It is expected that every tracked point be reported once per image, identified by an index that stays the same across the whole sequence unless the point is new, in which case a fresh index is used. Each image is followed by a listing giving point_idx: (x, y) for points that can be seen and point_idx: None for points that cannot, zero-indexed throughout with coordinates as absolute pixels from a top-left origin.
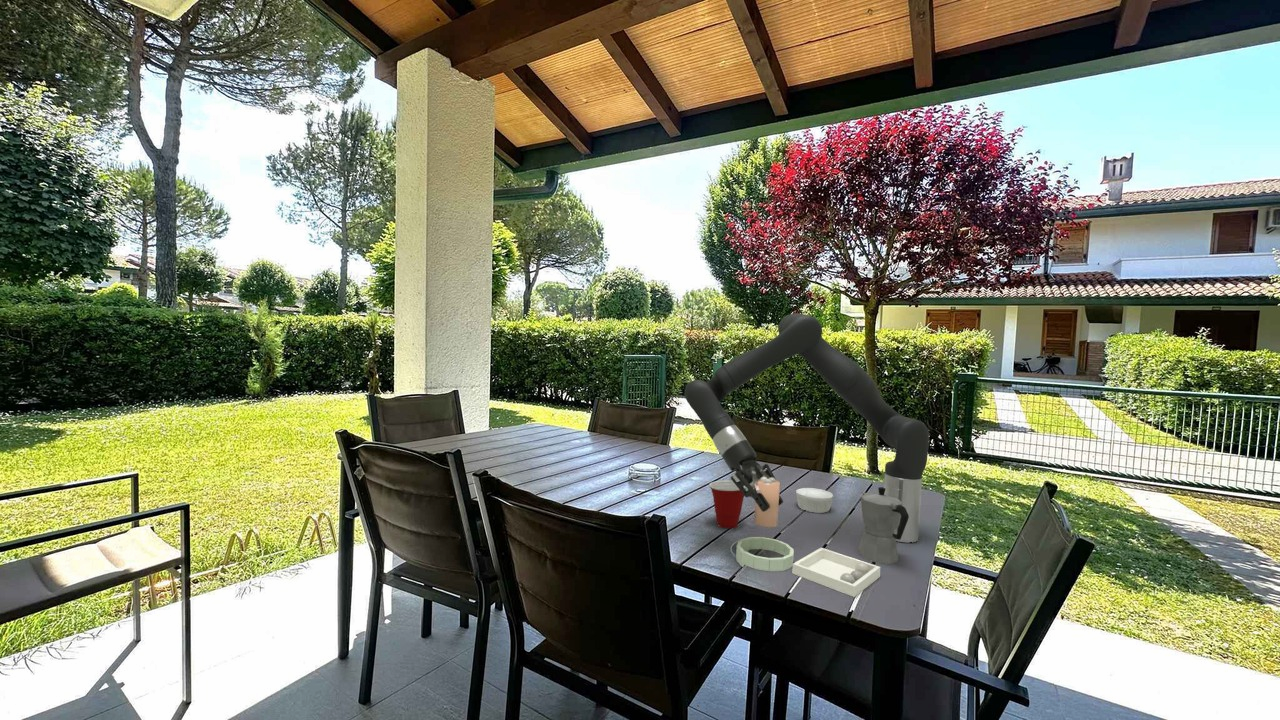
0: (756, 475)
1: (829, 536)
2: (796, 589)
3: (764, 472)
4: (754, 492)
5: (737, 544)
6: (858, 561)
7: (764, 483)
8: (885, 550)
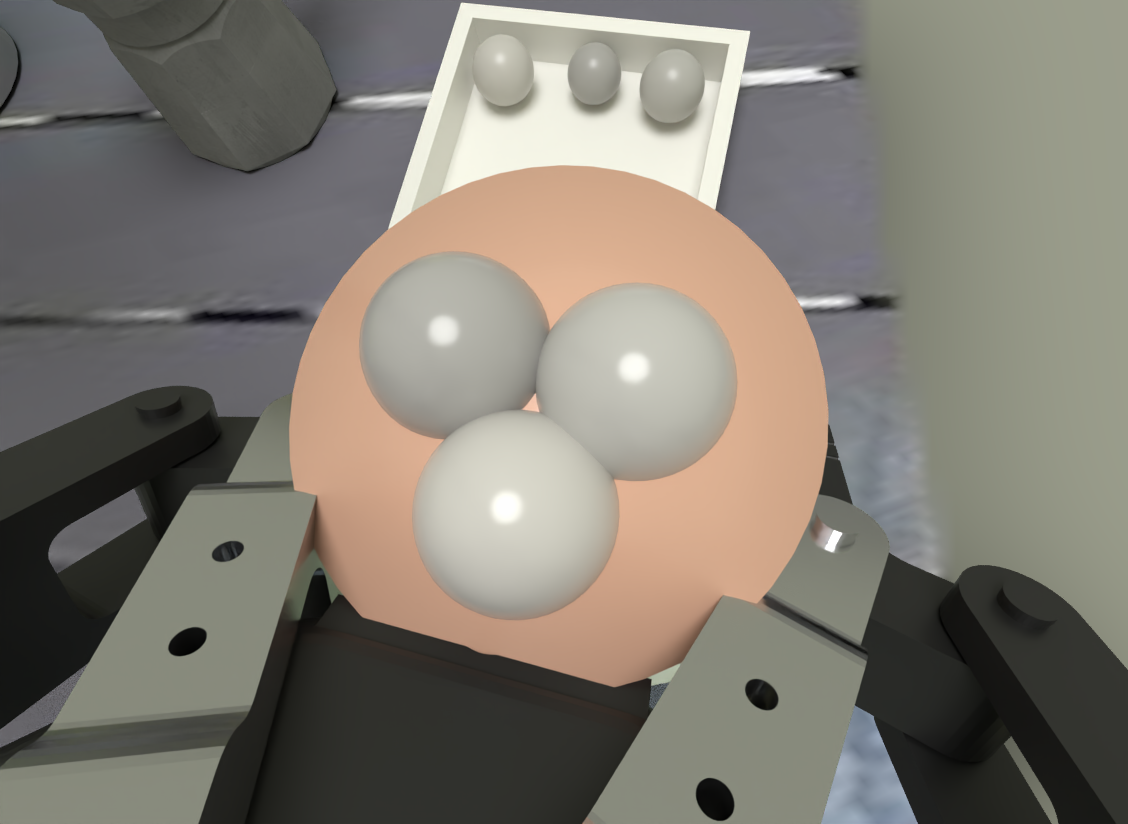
0: (462, 778)
1: (79, 329)
2: (801, 285)
3: (123, 622)
4: (903, 582)
5: (668, 680)
6: (451, 84)
7: (766, 415)
8: (278, 6)
